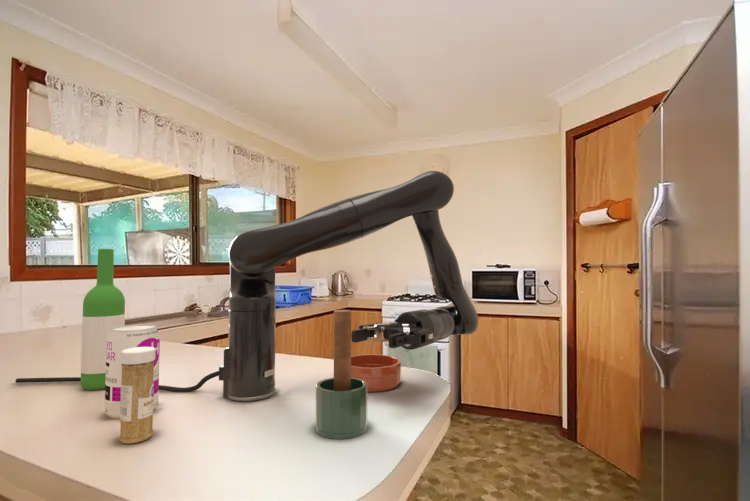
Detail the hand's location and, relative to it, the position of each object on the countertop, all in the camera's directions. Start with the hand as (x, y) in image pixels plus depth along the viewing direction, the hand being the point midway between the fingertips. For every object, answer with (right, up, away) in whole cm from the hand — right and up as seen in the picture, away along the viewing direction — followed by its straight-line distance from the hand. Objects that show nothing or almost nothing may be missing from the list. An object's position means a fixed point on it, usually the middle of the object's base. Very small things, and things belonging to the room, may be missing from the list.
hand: (371, 339), depth 70 cm
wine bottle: (-59, -14, +16) cm, 63 cm away
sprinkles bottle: (-36, -13, -10) cm, 39 cm away
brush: (-5, -12, -6) cm, 14 cm away
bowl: (0, -14, +18) cm, 23 cm away
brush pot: (-5, -13, -7) cm, 15 cm away
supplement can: (-43, -13, +1) cm, 45 cm away
